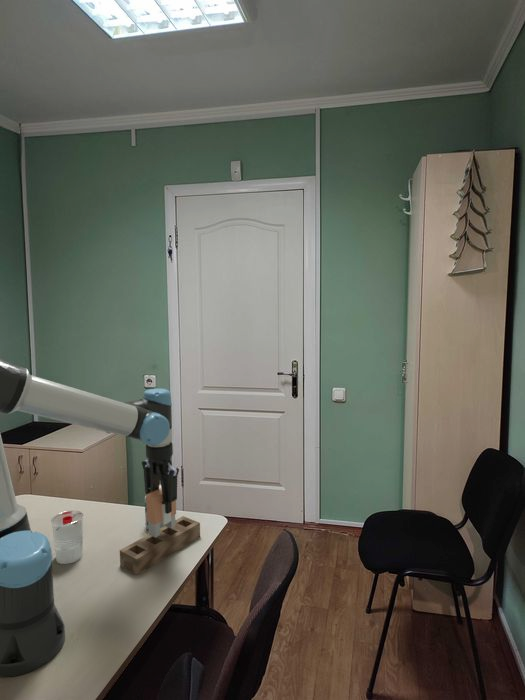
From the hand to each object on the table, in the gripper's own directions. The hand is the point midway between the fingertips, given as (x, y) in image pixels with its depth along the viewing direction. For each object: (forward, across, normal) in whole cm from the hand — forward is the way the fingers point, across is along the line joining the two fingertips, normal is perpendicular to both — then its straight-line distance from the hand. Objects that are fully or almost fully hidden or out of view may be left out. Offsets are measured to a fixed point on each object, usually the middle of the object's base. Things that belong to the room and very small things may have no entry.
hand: (161, 520), depth 131 cm
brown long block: (+9, 0, 0) cm, 9 cm away
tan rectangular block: (+3, 0, 0) cm, 3 cm away
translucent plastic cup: (+9, +19, +18) cm, 28 cm away
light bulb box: (+9, +14, -11) cm, 20 cm away
